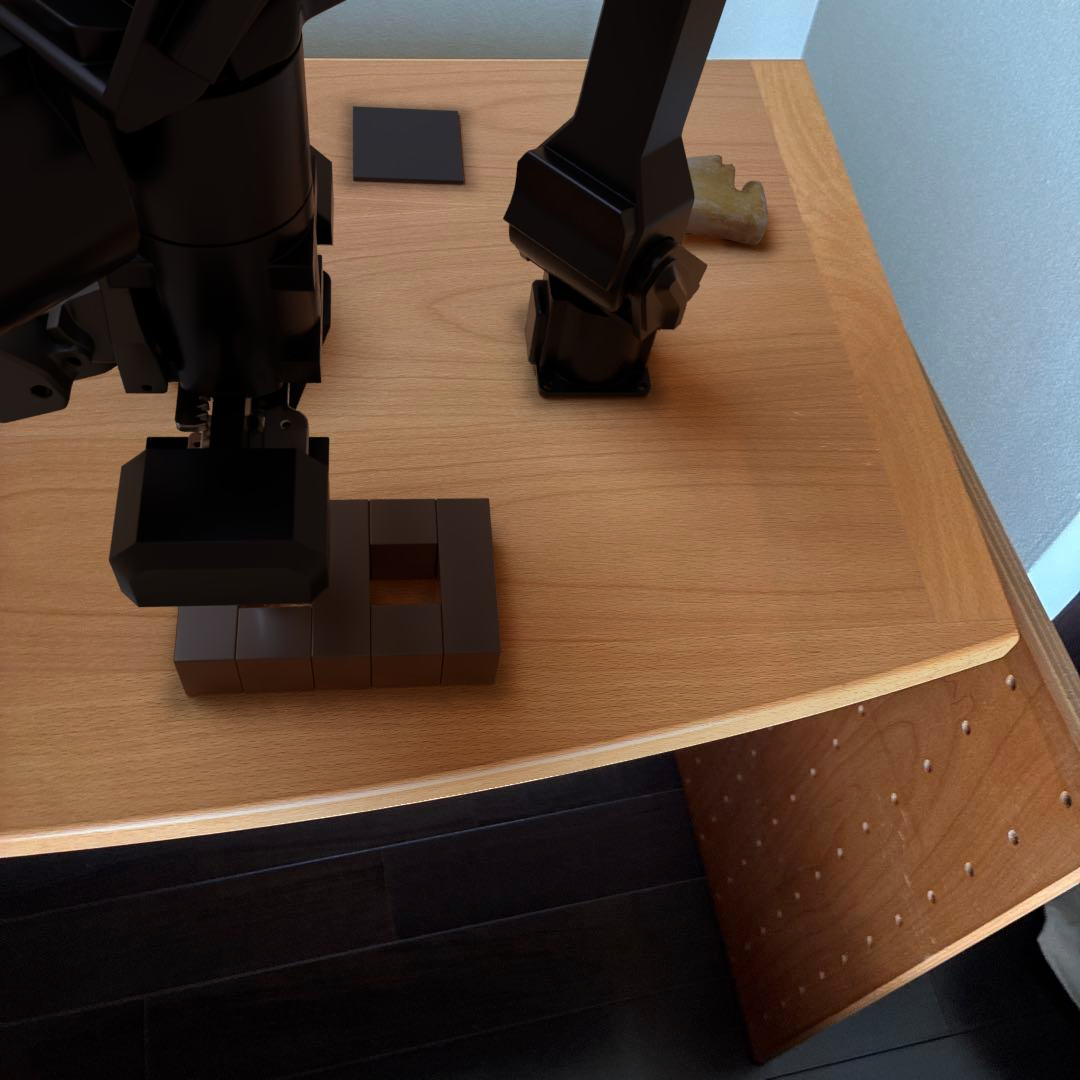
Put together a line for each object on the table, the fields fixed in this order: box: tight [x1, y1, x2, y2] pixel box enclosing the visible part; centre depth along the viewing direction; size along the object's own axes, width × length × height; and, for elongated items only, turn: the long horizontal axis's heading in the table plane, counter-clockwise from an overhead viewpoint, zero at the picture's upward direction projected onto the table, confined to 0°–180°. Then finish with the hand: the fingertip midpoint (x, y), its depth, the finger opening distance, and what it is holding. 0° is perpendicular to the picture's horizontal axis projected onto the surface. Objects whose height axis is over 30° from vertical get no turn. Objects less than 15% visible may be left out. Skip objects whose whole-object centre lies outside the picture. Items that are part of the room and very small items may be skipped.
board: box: [172, 497, 502, 696], centre depth 52 cm, size 14×8×4 cm, turn 95°
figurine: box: [685, 154, 769, 246], centre depth 69 cm, size 5×5×15 cm
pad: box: [352, 105, 465, 185], centre depth 72 cm, size 7×7×1 cm
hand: (261, 490), depth 44 cm, fingers closed on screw, 4 cm apart
